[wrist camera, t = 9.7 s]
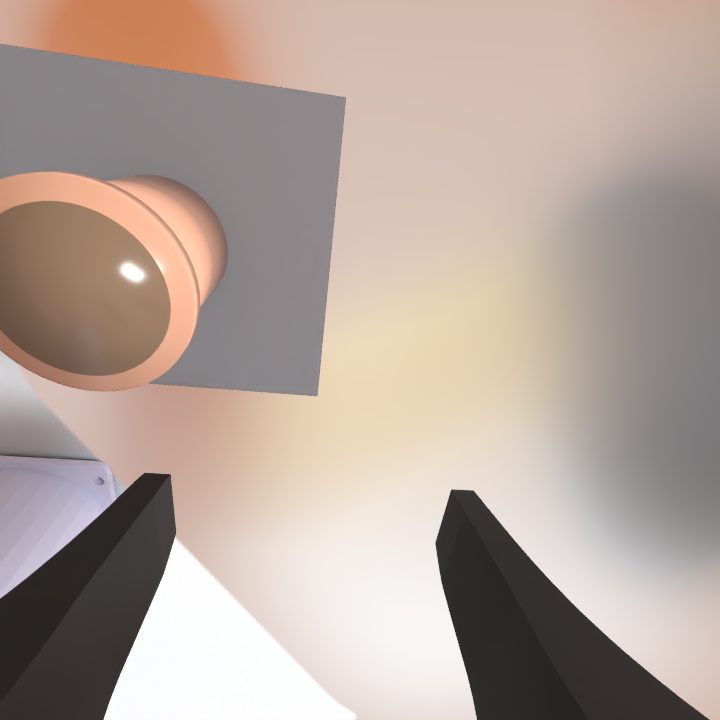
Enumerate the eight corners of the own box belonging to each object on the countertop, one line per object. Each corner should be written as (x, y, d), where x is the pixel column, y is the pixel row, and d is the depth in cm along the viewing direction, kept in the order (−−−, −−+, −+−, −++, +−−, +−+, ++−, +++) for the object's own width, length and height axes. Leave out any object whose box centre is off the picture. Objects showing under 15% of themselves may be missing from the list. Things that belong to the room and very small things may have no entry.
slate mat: (317, 389, 20) (317, 396, 20) (50, 368, 19) (42, 375, 18) (345, 99, 15) (345, 97, 14) (-26, 41, 14) (-41, 37, 13)
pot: (241, 320, 18) (201, 398, 12) (96, 311, 17) (-13, 389, 12) (234, 169, 15) (180, 184, 10) (64, 154, 15) (-96, 161, 9)
